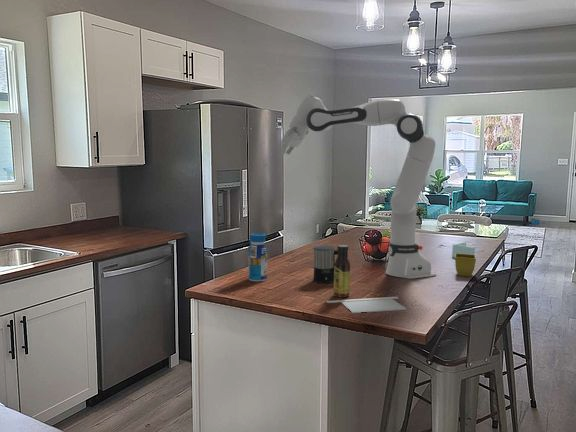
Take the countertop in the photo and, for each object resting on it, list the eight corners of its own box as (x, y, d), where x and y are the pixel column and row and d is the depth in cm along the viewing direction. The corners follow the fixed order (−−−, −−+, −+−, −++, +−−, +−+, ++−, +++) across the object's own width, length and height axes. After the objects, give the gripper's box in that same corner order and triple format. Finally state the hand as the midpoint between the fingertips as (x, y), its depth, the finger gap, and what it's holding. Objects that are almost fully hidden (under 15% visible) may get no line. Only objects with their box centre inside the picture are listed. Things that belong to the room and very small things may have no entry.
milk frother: (319, 284, 208) (320, 250, 206) (301, 276, 222) (301, 243, 220) (347, 280, 215) (348, 247, 213) (328, 273, 229) (329, 241, 227)
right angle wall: (473, 262, 255) (473, 247, 254) (452, 258, 264) (452, 244, 263) (484, 258, 263) (485, 244, 262) (463, 255, 272) (464, 241, 271)
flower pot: (474, 273, 228) (475, 254, 227) (475, 278, 220) (476, 258, 219) (454, 272, 231) (455, 253, 230) (454, 276, 223) (455, 256, 222)
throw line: (396, 297, 190) (396, 296, 190) (398, 298, 189) (398, 297, 189) (326, 301, 184) (326, 300, 184) (327, 303, 183) (327, 302, 183)
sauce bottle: (332, 293, 195) (332, 243, 192) (347, 293, 196) (348, 243, 193) (335, 298, 189) (335, 247, 186) (351, 298, 189) (352, 246, 187)
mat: (392, 299, 187) (392, 298, 187) (406, 309, 175) (406, 308, 175) (341, 303, 183) (341, 302, 183) (352, 313, 171) (352, 312, 171)
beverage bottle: (245, 278, 218) (245, 233, 216) (263, 276, 222) (263, 232, 219) (251, 282, 211) (251, 236, 208) (270, 280, 214) (270, 235, 211)
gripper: (298, 130, 222) (284, 157, 225) (309, 131, 242) (296, 156, 245) (286, 123, 223) (272, 150, 227) (298, 125, 243) (285, 150, 246)
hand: (284, 153), depth 236 cm, fingers open, 8 cm apart
